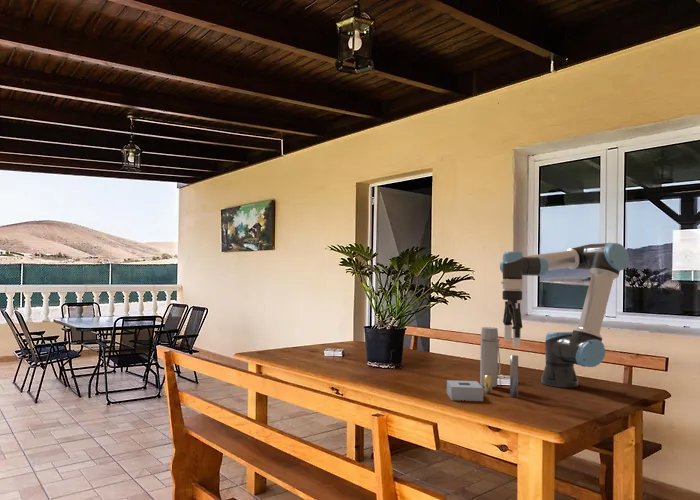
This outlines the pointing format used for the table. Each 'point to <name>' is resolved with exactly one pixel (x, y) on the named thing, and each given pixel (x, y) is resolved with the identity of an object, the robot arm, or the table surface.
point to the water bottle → (489, 355)
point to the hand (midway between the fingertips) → (512, 343)
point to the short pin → (488, 384)
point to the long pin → (513, 376)
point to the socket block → (464, 390)
